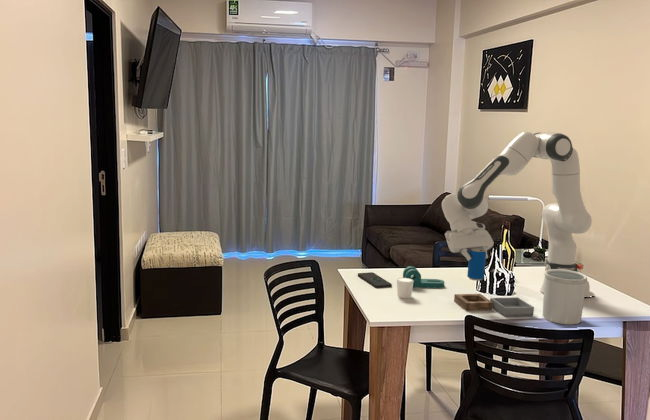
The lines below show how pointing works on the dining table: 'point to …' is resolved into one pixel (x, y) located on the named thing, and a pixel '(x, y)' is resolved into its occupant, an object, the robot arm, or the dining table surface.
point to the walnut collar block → (473, 302)
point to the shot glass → (404, 287)
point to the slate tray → (512, 307)
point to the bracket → (421, 282)
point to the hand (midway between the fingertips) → (478, 259)
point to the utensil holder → (563, 296)
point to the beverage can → (476, 264)
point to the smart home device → (374, 280)
